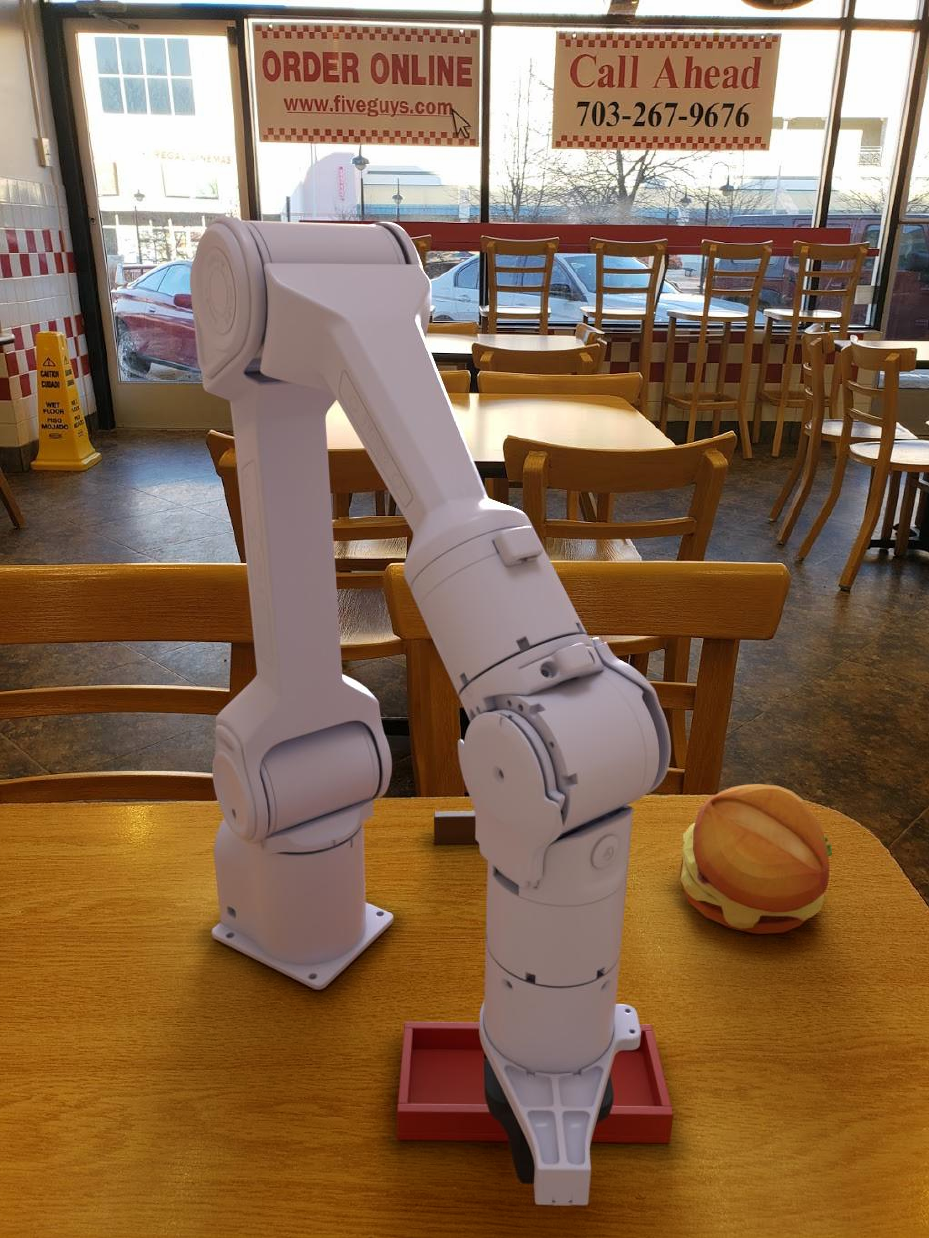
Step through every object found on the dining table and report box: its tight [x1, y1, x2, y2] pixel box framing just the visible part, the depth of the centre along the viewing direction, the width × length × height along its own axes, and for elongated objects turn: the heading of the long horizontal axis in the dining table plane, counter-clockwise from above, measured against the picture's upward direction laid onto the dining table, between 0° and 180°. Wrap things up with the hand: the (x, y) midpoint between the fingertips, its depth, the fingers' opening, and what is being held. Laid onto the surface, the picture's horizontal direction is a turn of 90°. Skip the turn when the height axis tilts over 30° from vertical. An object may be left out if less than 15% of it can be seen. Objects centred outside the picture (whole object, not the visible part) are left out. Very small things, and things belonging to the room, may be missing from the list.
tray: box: [396, 1021, 674, 1144], centre depth 51 cm, size 6×14×2 cm, turn 90°
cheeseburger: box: [679, 783, 833, 935], centre depth 65 cm, size 10×11×10 cm
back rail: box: [433, 810, 479, 845], centre depth 73 cm, size 1×12×2 cm, turn 93°
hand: (540, 1170), depth 45 cm, fingers closed
